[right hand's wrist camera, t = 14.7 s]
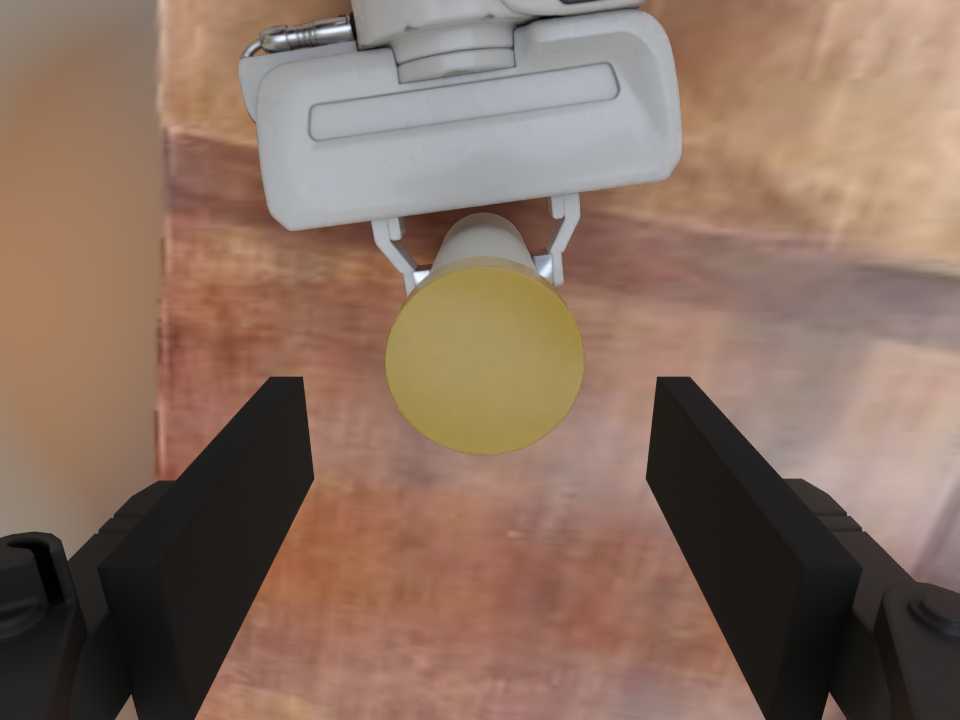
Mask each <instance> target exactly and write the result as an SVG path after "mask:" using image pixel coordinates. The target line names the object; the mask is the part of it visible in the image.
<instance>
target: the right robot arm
mask: <svg viewBox="0 0 960 720" xmlns="http://www.w3.org/2000/svg"><path fill="white" fill-rule="evenodd" d="M313 480H314V472H313V463H312V454H311V445H310V436H309V427H308V418H307V409H306V400H305V391H304V383H303V377H270V378H269V379H268V380H267V381H266V382H265V383H264V384H263V385H262V386H261V387H260V389H259V390H258V391H257V392H256V393H255V394H254V395H253V396H252V397H251V398H250V400H249V401H248V402H247V403H246V404H245V405H244V406H243V407H242V408H241V409H240V411H239V412H238V413H237V414H236V415H235V416H234V417H233V418H232V419H231V421H230V422H229V423H228V424H227V425H226V426H225V427H224V428H223V429H222V430H221V432H220V433H219V434H218V435H217V436H216V437H215V438H214V439H213V440H212V441H211V443H210V444H209V445H208V446H207V447H206V448H205V449H204V450H203V451H202V452H201V454H200V455H199V456H198V457H197V458H196V459H195V460H194V461H193V462H192V463H191V465H190V466H189V467H188V468H187V469H186V470H185V471H184V472H183V473H182V474H181V476H180V477H179V478H178V479H177V480H176V481H157V482H156V483H154V484H152V485H150V486H149V487H147V488H145V489H144V490H142V491H140V492H139V493H137V494H135V495H133V496H132V497H131V498H130V499H129V500H128V501H127V502H126V503H125V504H124V505H123V506H122V507H121V508H120V509H119V510H118V511H117V512H116V513H115V514H114V518H110V519H109V520H108V521H107V522H106V523H105V524H104V525H103V526H102V527H101V528H100V529H99V533H98V534H94V535H93V536H92V537H91V538H90V539H89V540H88V541H87V542H86V543H85V544H84V545H83V546H82V547H81V548H80V549H79V550H78V551H77V552H76V553H75V554H74V555H73V556H72V557H71V558H70V559H69V560H68V561H67V558H66V555H65V552H64V548H63V545H62V541H61V540H60V539H59V538H57V537H56V536H54V535H53V534H51V533H42V532H27V533H19V534H12V535H9V536H5V537H2V538H0V720H115V719H116V717H117V716H118V714H119V712H120V711H121V709H122V708H123V706H124V704H125V703H126V701H127V700H128V698H129V697H130V695H131V694H132V697H133V701H134V705H135V708H136V712H137V716H138V719H139V720H194V719H195V717H196V715H197V713H198V711H199V709H200V707H201V705H202V703H203V701H204V699H205V697H206V695H207V693H208V691H209V689H210V687H211V685H212V683H213V681H214V679H215V677H216V675H217V673H218V671H219V669H220V667H221V665H222V663H223V661H224V659H225V657H226V655H227V653H228V651H229V649H230V647H231V645H232V643H233V641H234V639H235V637H236V635H237V633H238V631H239V629H240V627H241V625H242V623H243V621H244V619H245V617H246V615H247V613H248V611H249V609H250V607H251V605H252V603H253V601H254V599H255V597H256V595H257V593H258V591H259V589H260V587H261V585H262V583H263V581H264V579H265V577H266V575H267V573H268V571H269V569H270V567H271V565H272V563H273V561H274V559H275V557H276V555H277V553H278V551H279V549H280V547H281V545H282V543H283V541H284V539H285V537H286V535H287V532H288V530H289V528H290V526H291V524H292V522H293V520H294V518H295V516H296V514H297V512H298V510H299V508H300V506H301V504H302V502H303V500H304V498H305V496H306V494H307V492H308V490H309V488H310V486H311V484H312V482H313ZM646 480H647V482H648V484H649V486H650V488H651V490H652V492H653V494H654V496H655V498H656V500H657V502H658V504H659V506H660V508H661V510H662V512H663V514H664V516H665V518H666V520H667V522H668V524H669V526H670V528H671V530H672V533H673V535H674V537H675V539H676V541H677V543H678V545H679V547H680V549H681V551H682V553H683V555H684V557H685V559H686V561H687V563H688V565H689V567H690V569H691V571H692V573H693V575H694V577H695V579H696V581H697V583H698V585H699V587H700V589H701V591H702V593H703V595H704V597H705V599H706V601H707V603H708V605H709V607H710V609H711V611H712V613H713V615H714V617H715V619H716V621H717V623H718V625H719V627H720V629H721V631H722V633H723V635H724V637H725V639H726V641H727V643H728V645H729V647H730V649H731V651H732V653H733V655H734V657H735V659H736V661H737V663H738V665H739V667H740V669H741V671H742V673H743V675H744V677H745V679H746V681H747V683H748V685H749V687H750V689H751V691H752V693H753V695H754V697H755V699H756V701H757V703H758V705H759V707H760V709H761V711H762V713H763V715H764V717H765V719H766V720H821V719H822V716H823V712H824V708H825V705H826V701H827V697H828V694H829V692H830V694H831V695H832V697H833V698H834V700H835V701H836V703H837V704H838V706H839V708H840V709H841V711H842V712H843V714H844V715H845V717H846V720H960V594H958V593H956V592H954V591H951V590H948V589H945V588H942V587H939V586H936V585H933V584H928V583H921V582H916V581H915V580H914V579H913V578H912V577H911V576H910V575H909V574H908V573H907V572H906V571H905V570H904V569H903V568H902V567H901V566H900V565H899V564H898V563H897V562H896V561H895V560H894V559H893V558H892V557H891V556H890V555H889V554H888V553H887V552H886V551H885V550H884V549H883V548H882V547H881V546H880V545H879V544H878V543H877V542H876V541H875V540H874V539H873V538H872V537H871V536H870V535H869V534H868V533H867V532H863V531H862V527H861V526H860V525H859V524H858V523H857V522H856V521H855V520H854V519H853V518H852V517H851V516H847V512H846V511H845V510H844V509H843V508H842V507H841V506H840V505H839V504H838V503H837V502H836V501H835V500H834V499H833V498H832V497H831V496H830V495H829V494H827V493H825V492H824V491H822V490H820V489H818V488H817V487H815V486H813V485H812V484H810V483H808V482H806V481H805V480H803V479H782V478H781V477H780V476H779V474H778V473H777V472H776V471H775V470H774V469H773V468H772V467H771V466H770V465H769V463H768V462H767V461H766V460H765V459H764V458H763V457H762V456H761V455H760V454H759V452H758V451H757V450H756V449H755V448H754V447H753V446H752V445H751V444H750V443H749V441H748V440H747V439H746V438H745V437H744V436H743V435H742V434H741V433H740V432H739V430H738V429H737V428H736V427H735V426H734V425H733V424H732V423H731V422H730V421H729V419H728V418H727V417H726V416H725V415H724V414H723V413H722V412H721V411H720V409H719V408H718V407H717V406H716V405H715V404H714V403H713V402H712V401H711V400H710V398H709V397H708V396H707V395H706V394H705V393H704V392H703V391H702V390H701V389H700V387H699V386H698V385H697V384H696V383H695V382H694V381H693V380H692V379H691V378H690V377H657V382H656V391H655V400H654V409H653V418H652V427H651V436H650V445H649V454H648V463H647V472H646Z"/></svg>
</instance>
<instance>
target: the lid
mask: <svg viewBox="0 0 960 720" xmlns="http://www.w3.org/2000/svg"><path fill="white" fill-rule="evenodd" d="M385 372H386V379H387V383H388V386H389V390H390V392H391V395H392V397H393V400H394V401H395V403H396V405H397V407H398V409H399V410H400V412H401V413H402V414H403V416H404V417H405V418H406V420H407V421H408V422H409V423H410V424H411V425H412V426H413V427H414V428H415V429H416V430H418V431H419V432H420V433H421V434H423V435H424V436H425V437H427V438H428V439H430V440H432V441H433V442H435V443H437V444H439V445H441V446H443V447H446V448H448V449H452V450H455V451H458V452H463V453H468V454H477V455H493V454H501V453H507V452H511V451H514V450H518V449H521V448H523V447H525V446H528V445H530V444H532V443H534V442H536V441H537V440H539V439H541V438H542V437H544V436H545V435H546V434H548V433H549V432H551V431H552V430H553V429H554V428H555V427H556V426H557V425H558V424H559V423H560V422H561V421H562V420H563V418H564V417H565V416H566V415H567V413H568V412H569V410H570V409H571V407H572V405H573V404H574V402H575V400H576V397H577V395H578V393H579V390H580V387H581V384H582V380H583V374H584V348H583V342H582V338H581V335H580V331H579V329H578V327H577V324H576V322H575V320H574V318H573V316H572V314H571V312H570V310H569V309H568V307H567V305H566V303H565V302H564V300H563V298H562V297H561V295H560V294H559V292H558V291H557V290H556V289H555V288H554V286H553V285H552V284H551V283H550V282H549V281H547V280H546V279H545V278H544V277H543V276H542V275H540V274H539V273H537V272H536V271H534V270H533V269H531V268H529V267H527V266H525V265H523V264H520V263H518V262H515V261H512V260H508V259H504V258H499V257H487V256H484V257H471V258H465V259H461V260H457V261H454V262H451V263H448V264H446V265H444V266H442V267H440V268H438V269H436V270H435V271H433V272H432V273H430V274H429V275H427V276H426V277H425V278H424V279H423V280H422V281H420V282H419V283H418V284H417V285H416V287H415V288H414V289H413V290H412V291H411V292H410V294H409V295H408V297H407V298H406V300H405V301H404V303H403V305H402V307H401V309H400V311H399V313H398V315H397V317H396V319H395V321H394V323H393V325H392V327H391V330H390V333H389V336H388V339H387V344H386V350H385Z"/></svg>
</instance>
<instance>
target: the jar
mask: <svg viewBox="0 0 960 720" xmlns="http://www.w3.org/2000/svg"><path fill="white" fill-rule="evenodd" d="M484 256H487V257H499V258H504V259H508V260H512V261H515V262H518V263H520V264H523V265H525V266H527V267H529V268H531V269H533V270H534V271H536V272H537V269H536V267H535V265H534V263H533V260H532V258H531V256H530V254H529V252H528V249H527V247H526V245H525V243H524V240H523V238H522V236H521V234H520V233H519V231H518V230H517V228H516V227H515V226H514V225H513V224H512V223H511V222H510V221H508V220H507V219H505V218H503V217H501V216H499V215H496V214H492V213H475V214H471V215H468V216H466V217H464V218H462V219H460V220H459V221H457V222H456V223H455V224H454V225H453V226H452V227H451V228H450V229H449V231H448V232H447V234H446V236H445V238H444V240H443V242H442V245H441V247H440V249H439V252H438V254H437V257H436V259H435V261H434V264H433V266H432V268H431V271H430V273H432V272H433V271H435V270H436V269H438V268H440V267H442V266H444V265H446V264H448V263H451V262H454V261H457V260H461V259H465V258H471V257H484ZM430 273H429V274H430ZM537 273H538V272H537Z"/></svg>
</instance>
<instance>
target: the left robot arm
mask: <svg viewBox="0 0 960 720" xmlns="http://www.w3.org/2000/svg"><path fill="white" fill-rule="evenodd" d="M350 1H351V7H352V10H353V11H352V14H349V15H340V16H337V17H330V18H324V19H319V20H314V22H313V21H311V22H309V23H305V24H303V25H302V24H301V25H295V26H289V27H288V26H287V25H277V26H272V27H269V28H266V29H263V30H261V31H260V33H259V39H257V40H255V41H253V42H252V43H250V44H249V45H248V46H247V47H246V49H245V50H244V52H243V54H242V56H241V58H240V61H239V63H238V77H239V81H240V85H241V89H242V93H243V97H244V102H245V106H246V109H247V111H248V113H249V115H250V117H251V119H252V120H253V121H254V123H255V124H256V129H257V141H258V151H259V160H260V168H261V174H262V181H263V187H264V192H265V197H266V202H267V206H268V210H269V212H270V214H271V215H272V217H273V218H275V219H276V220H277V221H278V222H279V223H280V224H281V225H282V226H283V227H285V228H286V229H287V230H289V231H299V230H306V229H314V228H321V227H328V226H336V225H343V224H351V223H358V222H365V221H371V224H372V229H373V235H374V240H375V244H376V245H377V246H378V247H379V249H380V250H381V251H382V252H383V253H384V255H385V256H386V257H387V258H388V259H389V261H390V262H391V263H392V264H393V265H394V267H395V268H396V269H397V270H398V271H399V272H400V273H403V278H404V283H405V289H406V295H407V297H408V295H409V294H410V292H411V291H412V290H413V289H414V288H415V287H416V285H417V284H418V283H419V282H420V281H422V280H423V279H424V278H425V277H426V276H427V275H429V273H430V271H431V268H432V266H433V264H427V265H418V264H417V262H416V261H415V260H414V259H413V257H412V256H411V255H410V253H409V252H408V251H407V250H406V248H405V247H404V246H403V244H402V243H401V242H400V239H401V238H402V237H403V236H404V234H405V233H406V226H405V220H404V216H410V215H417V214H424V213H432V212H439V211H447V210H454V209H461V208H469V207H476V206H483V205H491V204H498V203H506V202H513V201H520V200H528V199H535V198H542V197H547V203H548V213H549V214H550V215H551V216H552V217H553V218H555V219H557V222H556V224H555V226H554V229H553V231H552V233H551V236H550V238H549V240H548V242H547V245H546V247H545V248H546V249H541V250H534V251H531V258H532V260H533V263H534V265H535V267H536V269H537V272H538V273H539V274H540V275H542V276H543V277H544V278H545V279H546V280H547V281H549V282H550V283H551V284H552V285H553V286H560V285H563V267H562V255H561V252H564V250H565V248H566V246H567V244H568V242H569V240H570V238H571V236H572V233H573V231H574V229H575V227H576V225H577V223H578V221H579V219H580V217H581V216H580V201H579V192H587V191H594V190H602V189H609V188H616V187H624V186H631V185H638V184H646V183H653V182H660V181H664V180H666V179H667V178H668V177H669V176H670V174H671V173H672V172H673V170H674V169H675V167H676V165H677V164H678V162H679V161H680V159H681V155H682V123H681V109H680V99H679V91H678V82H677V76H676V69H675V63H674V57H673V53H672V48H671V45H670V42H669V39H668V37H667V34H666V32H665V30H664V29H663V27H662V26H661V24H660V23H659V22H658V21H657V20H656V19H655V18H654V17H653V16H651V15H650V14H648V13H646V12H643V11H640V10H638V9H639V8H640V7H641V6H642V5H643V4H644V2H645V1H646V0H350ZM357 40H358V43H357ZM302 47H303V48H304V49H301V48H302ZM307 47H311V48H307ZM262 48H263V50H264V51H265V52H266V53H269V54H265V55H258V56H253V55H254V54H255V53H256V52H257V51H258V50H260V49H262ZM294 49H298V50H294Z"/></svg>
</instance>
